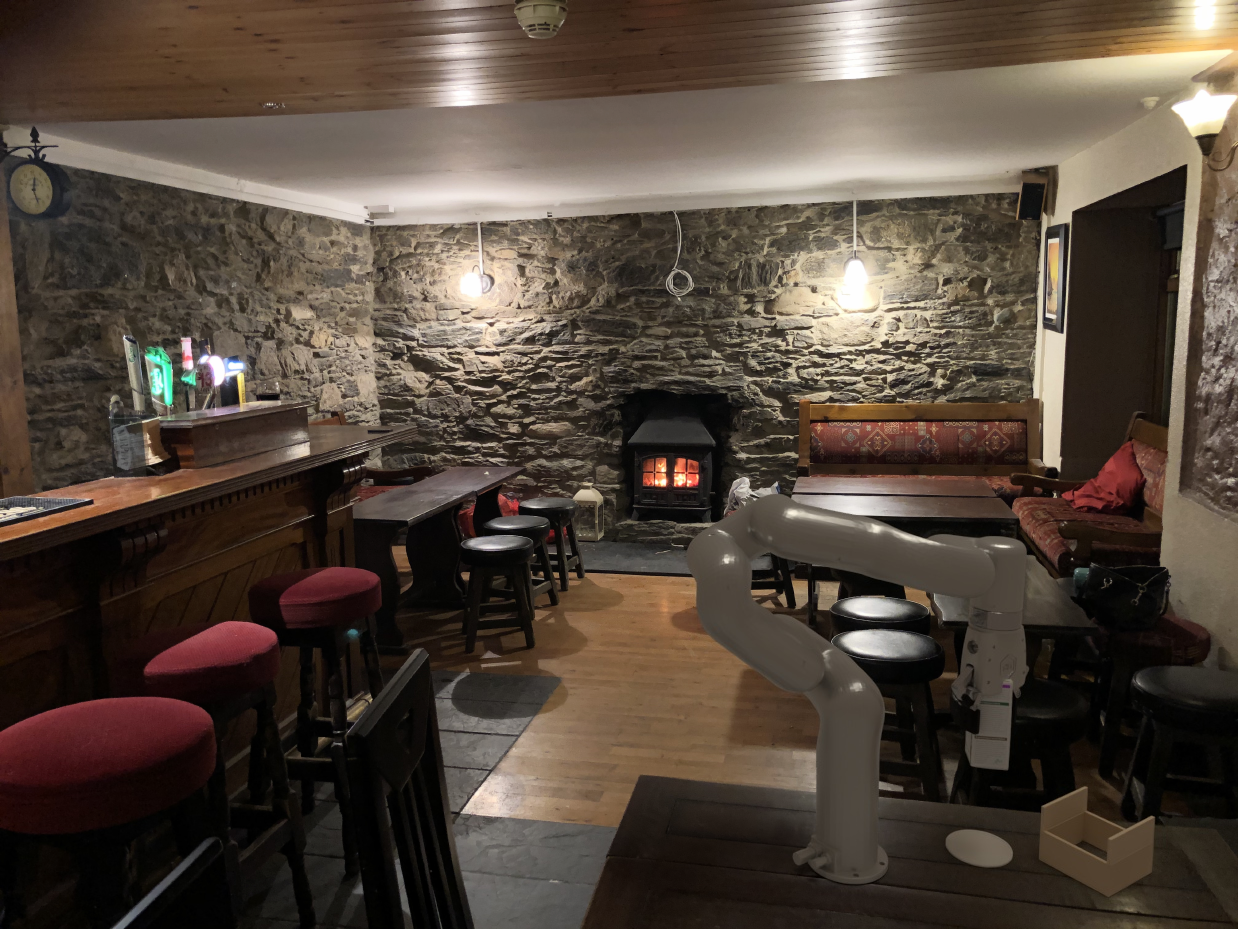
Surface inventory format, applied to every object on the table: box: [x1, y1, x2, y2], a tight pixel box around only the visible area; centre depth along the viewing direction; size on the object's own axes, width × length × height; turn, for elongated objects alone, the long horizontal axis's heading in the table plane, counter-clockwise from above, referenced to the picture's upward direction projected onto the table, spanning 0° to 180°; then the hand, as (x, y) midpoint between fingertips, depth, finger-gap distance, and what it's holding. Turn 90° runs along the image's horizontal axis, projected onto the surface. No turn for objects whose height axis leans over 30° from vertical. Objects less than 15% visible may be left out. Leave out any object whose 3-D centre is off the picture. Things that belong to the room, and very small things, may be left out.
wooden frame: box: [1038, 786, 1156, 898], centre depth 136 cm, size 11×11×9 cm
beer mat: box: [945, 829, 1014, 869], centre depth 142 cm, size 10×10×1 cm
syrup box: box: [964, 678, 1013, 771], centre depth 139 cm, size 6×6×14 cm
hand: (987, 724), depth 139 cm, fingers closed on syrup box, 8 cm apart
